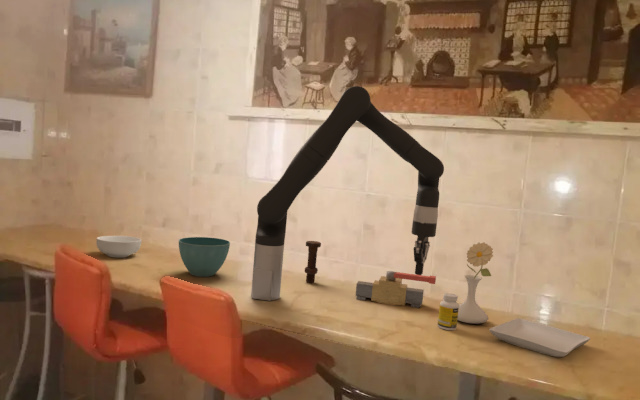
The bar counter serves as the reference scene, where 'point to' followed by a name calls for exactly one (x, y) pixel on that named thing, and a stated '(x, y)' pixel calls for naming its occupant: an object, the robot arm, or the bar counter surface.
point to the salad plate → (538, 337)
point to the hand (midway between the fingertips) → (418, 274)
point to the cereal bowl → (118, 245)
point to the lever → (410, 277)
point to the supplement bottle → (448, 312)
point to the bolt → (312, 260)
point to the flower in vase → (475, 284)
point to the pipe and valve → (389, 292)
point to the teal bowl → (203, 254)
